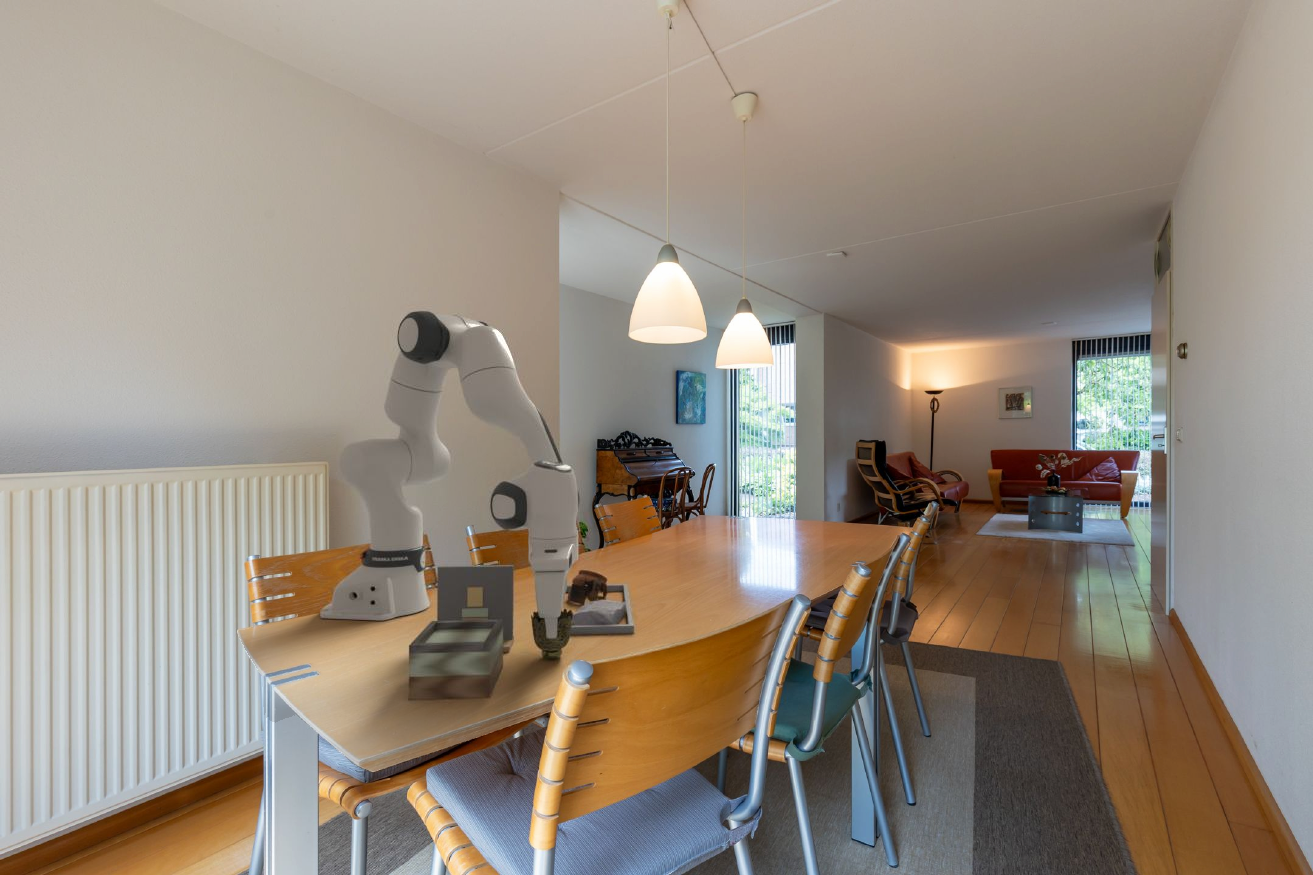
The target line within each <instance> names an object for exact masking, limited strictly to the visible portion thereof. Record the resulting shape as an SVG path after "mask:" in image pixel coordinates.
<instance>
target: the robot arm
mask: <svg viewBox="0 0 1313 875" xmlns="http://www.w3.org/2000/svg"><path fill="white" fill-rule="evenodd" d="M396 338H397V344H398V347H399V353H398V355H397V358H396V360H395V362H394V365H393V369H392V373H391V376H390V380H389V385H388V388H387V393H386V395H385V396H386V398H385V401H384V404H383V405H384V408H383V409H384V412H385V414H386V416H387V418H388V419H389V420H390V421H391V422H392V423H394V424H395V425H396V426H398V427H399V434H398V437H397V438H369V439H364V440H363V439H362V440H358V441H354V442H349V443H348V444H346V445H345V446H344V447H343V449H342V450H341V452H340V454H339V455H338V458H337V470H338V473H339V476H340V477H341V480H343V482H344V483H345V484H346V485H347V486H349V487H351V489H353V490H355V492H357V493H358V495H359V496H360V497H361V499H362V501H363V502H364V504H365V507H366V510H367V512H368V517H369V519H368V520H369V530H370V531H369V532H370V533H369V534H370V535H369V536H370V545H369V547H366V549H365V550H364V551H362V552H361V553H359V557H358V558H359V559H358V560H361V565H360V566H359V567H357V568H356V569H354V570H353V571H352V572H351V573H349V574H348V575H347V576H346V577H345V578H343V579H342V580H340V582H338V584H337V585H336V586H335V588H334V590H333V593H332V600H331V602H330V603H329V604H327V605H325V606H324V607H323V608H321V610H320V614H319V617H320V618H321V619H333V620H335V619H336V620H358V621H359V620H362V621H388V620H391V619H394V618H397V617H401V616H406V615H412V614H415V613H419V612H421V611H424V610H426V609H428V608H429V607H430V606H431V603H430V600H429V596H428V593H427V587H426V582H425V575H424V574H425V572H424V570H425V567H426V551H425V550H426V549H425V545H424V544H423V543H424V539H423V537H424V526H423V524H424V517H423V515H424V514H423V513H422V511H421V509H420V508H418V506H416V505H414V504H413V503H411V502H408V501H407V500H406V498H405V495H404V493H403V488H402V487H407V486H408V487H409V486H410V487H411V486H421V485H422V486H423V485H425V486H426V485H428V484H431V483H435V482H437V481H441V480H443V479H444V478H445V477H446V476H447V475H448V473H449V471H450V468H451V454H450V452H449V450H448V448H447V446H445V444H444V443H443V442H442V441H441V440H440V438H439V435H438V431H437V418H438V413H439V407H440V403H441V399H442V393H443V392H444V387H445V382H446V377H447V374H448V373H449V371H450V369H457V372H458V376H459V380H460V385H461V390H462V394H463V399H464V401H465V403H466V406H467V408H468V410H469V411H470V412H471V413H472V414H473V415H474V417H476V418H477V419H478V420H480V421H481V422H483V423H485V424H488V425H491V426H493V427H495V428H498V429H500V430H503V431H506V432H507V433H509V434H511V435H512V436H514V437H515V438H516V439H518V440H519V442H521V444H522V445H523V446H524V448H525V451H526V453H527V455H528V458H529V460H530V463H531V465H530V467H529V468H528V470H526V471H525V472H523V473H521V474H519V475H517V476H515V477H513V478H510V479H508V480H505V481H501V482H500V483H498V484H497V485H496V486H495V487H494V489H493V491H492V493H491V497H490V504H489V508H490V513H491V517H492V519H493V521H494V522H495V523H496V525H498V526H499V527H500V528H501V529H503V530H505V531H506V530H508V531H522V530H528V563H529V564H530V571H531V572H533V573H534V574H533V576H534V590H535V600H536V609H537V611H538V614H539V617H540V618H545V624H546V637H547V638H556V637H557V620H558V617H559V616H560V614H561V610H562V609H563V605H564V601H565V596H566V593H567V592H566V589H567V585H568V573H569V572H571V570H572V566H573V565H574V563H577V562H578V561H579V532H578V527H577V517H578V516H577V515H578V513H579V507H580V504H581V503H580V501H581V500H580V498H581V497H580V493H579V489H578V484H577V478H576V474H575V471H574V469H573V467H572V466H570V465H569V464H566V463H564V462H563V461H562V460H563V459H562V458H561V454H560V453H559V451H558V448H557V445H556V444H555V441H554V439H553V436H552V434H551V432H550V429H549V427H548V425H547V422H546V420H545V418H544V416H543V414H542V413H541V410H540V409H539V408H538V407H537V406H536V405H535V404H534V403H533V402H532V400H531V399H530V397H529V396H528V394H527V393H526V391H525V390H524V387H523V385H522V383H521V381H520V378H519V375H518V371H517V368H516V365H515V361H514V359H513V356H512V353H511V351H510V348H509V346H508V345H507V343H506V340H505V339H504V336H503V335H502V333H501V332H500V331H499V330H497V329H496V328H495V327H494V326H493V325H490V324H488V323H486V322H484V321H481V320H480V321H477V320H475V319H472V318H468V317H465V316H460V315H457V314H455V315H451V314H446V313H437V312H436V313H435V312H432V311H427V310H418V311H412V312H408V313H407V314H406V315H405V316H404V317H403V319H402V320H401V322H400V324H399V326H398V330H397V337H396ZM562 611H563V610H562Z"/></svg>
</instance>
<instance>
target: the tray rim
mask: <svg viewBox="0 0 1313 875" xmlns="http://www.w3.org/2000/svg"><path fill="white" fill-rule="evenodd" d="M586 586H587V585H586ZM571 587H572V584H569V585H568V584H567V589H566V593H569V592H570V591H571ZM607 592H623V598H624V602H625V603H626V614H625V615H626V620H627V624H622V623H621V624H617V625H578V626H574V625H571V633H570V636H571V635H572V636H573V635H574V636H575V635H611V634H613V635H614V634H616V635H617V634H620V635H621V634H635V623H634V617H633V616H634V615H633V611H632V605H631V600H630V594H629V587H628V583H624V584H622V583H621V584H607Z"/></svg>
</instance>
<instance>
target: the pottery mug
mask: <svg viewBox="0 0 1313 875" xmlns="http://www.w3.org/2000/svg"><path fill="white" fill-rule="evenodd" d="M607 581H608V578H607V577H605V576H604V575H602V574H601V573H598V572H596V571H591V570H587V569H581V570H579V571H578V574H577V575H575V576H574V578H572V581H571V582H572V584H571V585H572V587H571V591H570V592H567V593H568V594H567V602H573V603H574V604H575V603H576V604H579V605H581V606H584V605H585V604H586V600H588V601H589V602H593V601H598V600H597V599H598V597H599V594H600V592H602V597H603V598H606V597H607V595H608V591H607V585H608V584H607ZM586 585H587V586H586Z"/></svg>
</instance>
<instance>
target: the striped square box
mask: <svg viewBox="0 0 1313 875" xmlns="http://www.w3.org/2000/svg"><path fill="white" fill-rule="evenodd" d="M503 668H504V652H503V620H458V621H437V620H432V621H430V622H429V623H428V624H427V625H426V627H425V628H423V629H422V631H421V632H420V633H419V634H418V635H417V636H416V637H415V638H414V639H413V641H412V642H411V643H410V644H409V645H408V700H409V701H417V700H420V701H423V700H449V699H450V700H451V699H452V700H454V699H477V698H479V699H480V698H482V699H483V698H491V696H492V694H493V691H494V689H495V687H496V684H497V682H498V679H499V677H500V675H501V672H502V670H503Z"/></svg>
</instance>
